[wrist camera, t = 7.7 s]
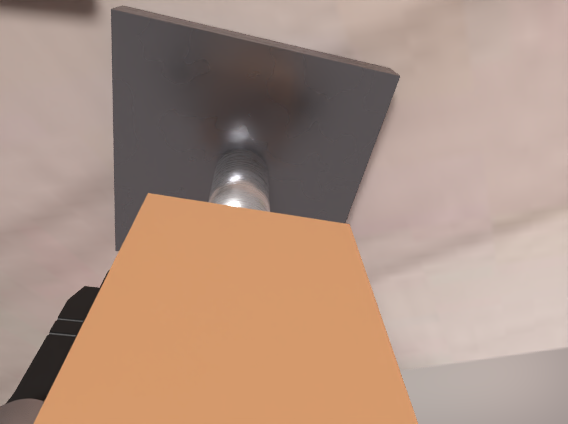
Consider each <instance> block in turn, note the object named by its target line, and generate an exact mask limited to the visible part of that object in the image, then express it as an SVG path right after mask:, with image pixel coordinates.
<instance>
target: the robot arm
mask: <svg viewBox="0 0 568 424" xmlns="http://www.w3.org/2000/svg"><path fill="white" fill-rule="evenodd" d="M109 271H110V270H109ZM109 271H108V272H107V274H106V276H105V278H104V280H103V282H102V284H101V286H100V288H97V287H88V286H84V287H83V288H82V289H81V290H79V291H78V292H77V293H76V294H75V295H73V296H72V297H71V298H70V299H68V301H67V302H66V304H65V306H64V307H63V309H62V311H61V313H60V314H59V316H58V320H57V321H55V323H54V325H53V327H52V328H51V330H50V333H49V335H47V337H46V339H45V340H44V342H43V344H42V346H41V347H40V349H39V351H38V353H37V354H36V356H35V358H34V359H33V361H32V363H31V365H30V366H29V368H28V370H27V372H26V373H25V375H24V377H23V379H22V380H21V382H20V384H19V385H18V387H17V389H16V391H15V392H14V394H13V395H12V397H11V398H10V399H9V400H8V401H7V403H6V404H5V405H2V406H0V424H34V422H35V420H36V418H37V416H38V413H39V411H40V409H41V407H42V405H43V403H44V401H45V399H46V397H47V395H48V393H49V391H50V389H51V387H52V385H53V383H54V381H55V379H56V377H57V375H58V373H59V371H60V369H61V367H62V365H63V363H64V361H65V359H66V357H67V355H68V353H69V351H70V349H71V347H72V345H73V343H74V341H75V339H76V337H77V335H78V333H79V331H80V329H81V327H82V325H83V323H84V321H85V319H86V317H87V315H88V313H89V311H90V309H91V307H92V305H93V303H94V301H95V299H96V297H97V295H98V293H99V291H100V289H101V287H102V285H103V283H104V281H105V279H106V277H107V275H108V273H109Z"/></svg>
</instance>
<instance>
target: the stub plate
mask: <svg viewBox="0 0 568 424" xmlns="http://www.w3.org/2000/svg"><path fill="white" fill-rule="evenodd" d="M111 29H112V83H113V137H114V191H115V245H116V251H120V249H121V247H122V244H123V242H124V240H125V238H126V236H127V234H128V232H129V230H130V228H131V226H132V224H133V222H134V220H135V218H136V216H137V214H138V212H139V210H140V208H141V206H142V204H143V202H144V200H145V198H146V196H147V194H148V193H151V194H158V195H164V196H171V197H177V198H183V199H190V200H196V201H203V202H209V203H216V204H222V205H229V206H235V207H242V208H248V209H254V210H261V211H267V212H274V213H280V214H287V215H293V216H300V217H306V218H313V219H319V220H325V221H332V222H338V223H345V222H346V219H347V216H348V214H349V211H350V208H351V206H352V203H353V200H354V198H355V195H356V192H357V190H358V187H359V184H360V182H361V179H362V176H363V174H364V171H365V168H366V166H367V163H368V160H369V158H370V155H371V152H372V150H373V147H374V144H375V142H376V139H377V136H378V134H379V131H380V128H381V126H382V123H383V121H384V118H385V115H386V113H387V110H388V107H389V105H390V102H391V99H392V97H393V94H394V91H395V89H396V86H397V83H398V81H399V78H400V76H399V75H398V74H397V73H396V72H394V71H393V70H392V69H390V68H386V67H382V66H378V65H374V64H369V63H365V62H361V61H357V60H352V59H348V58H344V57H340V56H335V55H331V54H327V53H323V52H318V51H314V50H310V49H305V48H301V47H297V46H293V45H288V44H284V43H280V42H276V41H271V40H267V39H263V38H259V37H254V36H250V35H246V34H242V33H237V32H233V31H229V30H225V29H220V28H216V27H212V26H208V25H203V24H199V23H195V22H190V21H186V20H182V19H178V18H173V17H169V16H165V15H161V14H156V13H152V12H148V11H144V10H139V9H135V8H131V7H127V6H120V7H116V8H113V9H111Z"/></svg>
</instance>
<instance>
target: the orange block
mask: <svg viewBox="0 0 568 424" xmlns="http://www.w3.org/2000/svg"><path fill="white" fill-rule="evenodd" d="M34 424H418V422H417V419H416V416H415V413H414V410H413V407H412V405H411V402H410V399H409V396H408V393H407V390H406V387H405V384H404V382H403V378H402V375H401V373H400V370H399V367H398V364H397V361H396V358H395V355H394V352H393V349H392V346H391V344H390V341H389V338H388V335H387V332H386V329H385V326H384V323H383V320H382V317H381V314H380V312H379V309H378V306H377V303H376V300H375V297H374V294H373V291H372V288H371V285H370V283H369V280H368V277H367V274H366V271H365V268H364V265H363V262H362V259H361V256H360V253H359V251H358V248H357V245H356V242H355V239H354V236H353V233H352V230H351V227H350V224H345V223H338V222H332V221H325V220H319V219H313V218H306V217H300V216H293V215H287V214H280V213H274V212H267V211H261V210H254V209H248V208H242V207H235V206H229V205H222V204H216V203H209V202H203V201H196V200H190V199H183V198H177V197H171V196H164V195H158V194H151V193H148V194H147V196H146V198H145V200H144V202H143V204H142V206H141V208H140V210H139V212H138V214H137V216H136V218H135V220H134V222H133V224H132V226H131V228H130V230H129V232H128V234H127V236H126V238H125V240H124V242H123V244H122V247H121V249H120V251H119V253H118V255H117V257H116V259H115V261H114V263H113V265H112V267H111V269H110V271H109V273H108V275H107V277H106V279H105V281H104V283H103V285H102V287H101V289H100V291H99V293H98V295H97V297H96V299H95V301H94V303H93V305H92V307H91V309H90V311H89V313H88V315H87V317H86V319H85V321H84V323H83V325H82V327H81V329H80V331H79V333H78V335H77V337H76V339H75V341H74V343H73V345H72V347H71V349H70V351H69V353H68V355H67V357H66V359H65V361H64V363H63V365H62V367H61V369H60V371H59V373H58V375H57V377H56V379H55V381H54V383H53V385H52V387H51V389H50V391H49V393H48V395H47V397H46V399H45V401H44V403H43V405H42V407H41V409H40V411H39V413H38V416H37V418H36V420H35V422H34Z"/></svg>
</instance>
